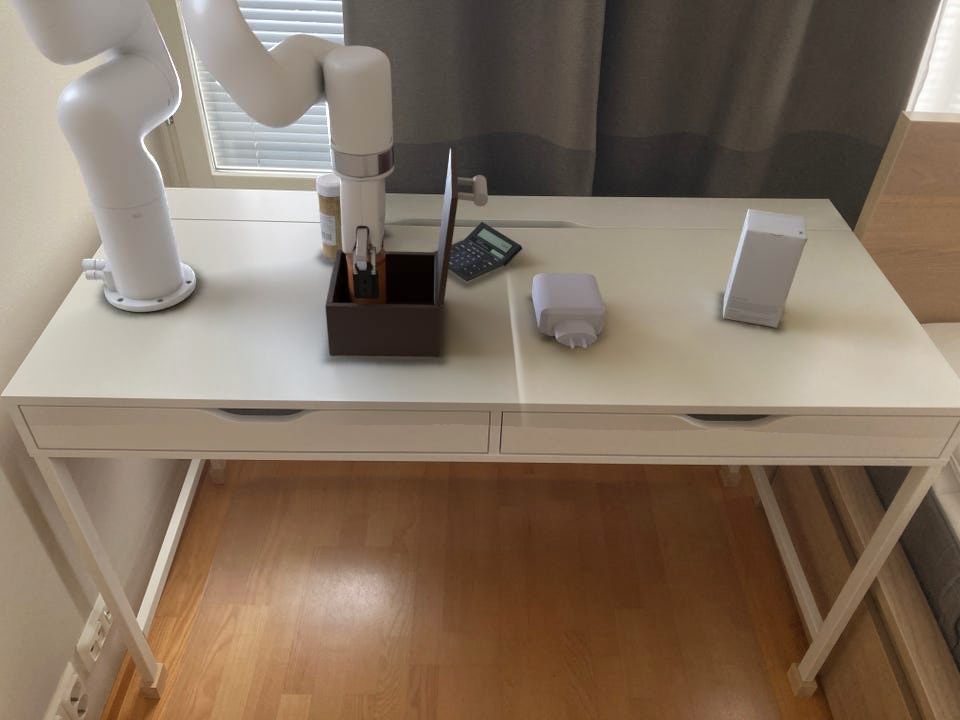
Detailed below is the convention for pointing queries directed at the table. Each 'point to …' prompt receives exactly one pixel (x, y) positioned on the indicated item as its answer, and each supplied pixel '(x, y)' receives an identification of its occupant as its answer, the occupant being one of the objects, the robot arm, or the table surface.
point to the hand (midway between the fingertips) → (369, 276)
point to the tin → (381, 272)
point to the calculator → (481, 252)
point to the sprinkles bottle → (330, 213)
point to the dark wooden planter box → (387, 310)
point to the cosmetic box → (764, 267)
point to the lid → (454, 216)
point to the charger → (568, 307)
